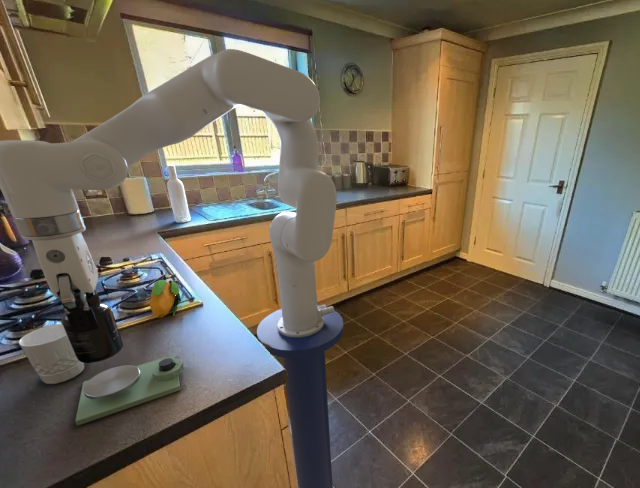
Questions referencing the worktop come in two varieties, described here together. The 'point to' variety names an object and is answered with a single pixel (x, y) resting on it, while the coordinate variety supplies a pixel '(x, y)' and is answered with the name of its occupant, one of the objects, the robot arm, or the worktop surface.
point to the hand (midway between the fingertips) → (89, 320)
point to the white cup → (51, 354)
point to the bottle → (177, 196)
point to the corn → (164, 298)
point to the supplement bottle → (95, 333)
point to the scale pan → (111, 382)
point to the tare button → (166, 364)
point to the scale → (133, 391)
